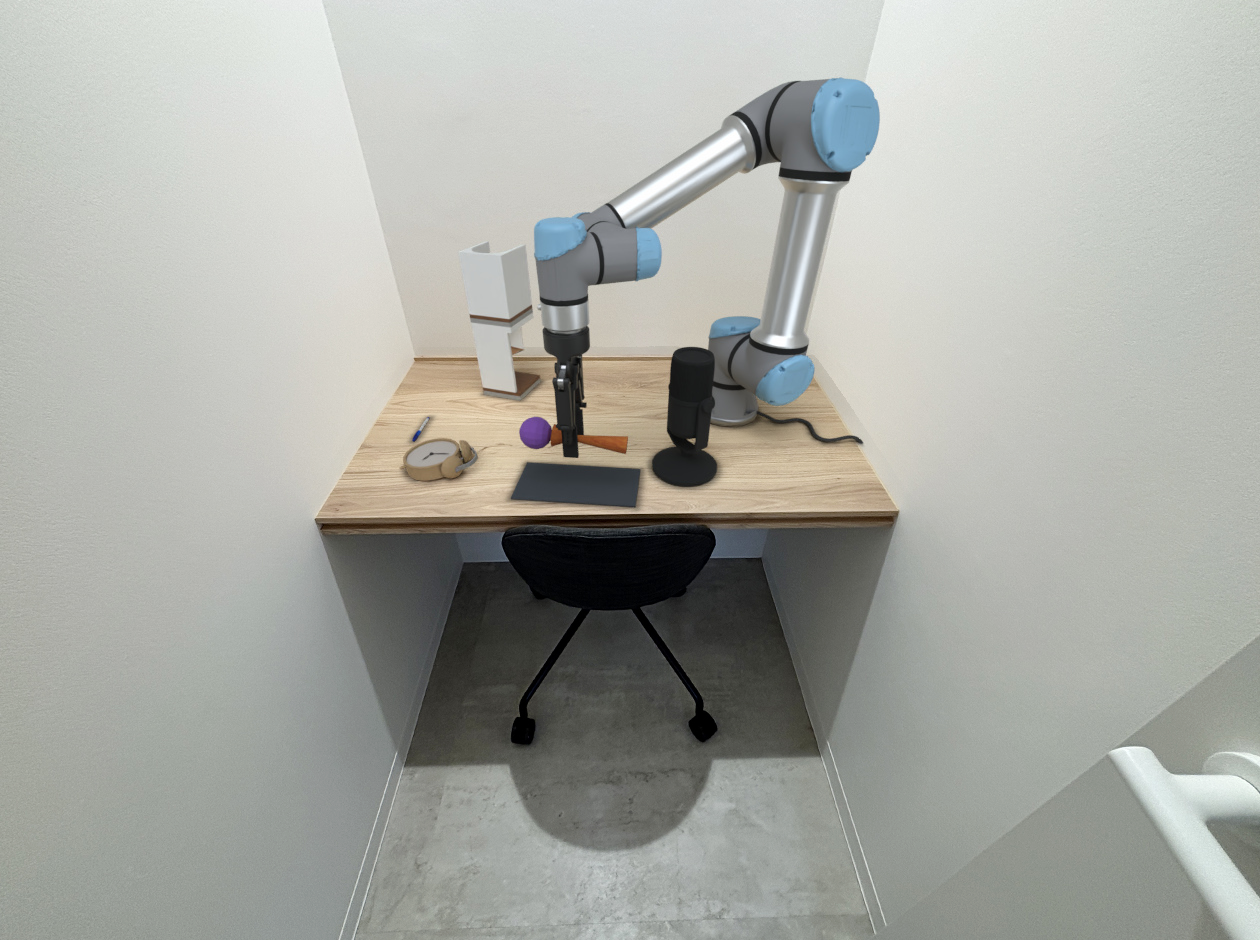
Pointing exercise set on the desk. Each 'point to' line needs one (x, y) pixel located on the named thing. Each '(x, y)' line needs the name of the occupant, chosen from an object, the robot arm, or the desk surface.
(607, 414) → the desk surface
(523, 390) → the display case
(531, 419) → the kendama
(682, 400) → the microphone
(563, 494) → the mat
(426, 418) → the ballpoint pen
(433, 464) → the alarm clock
